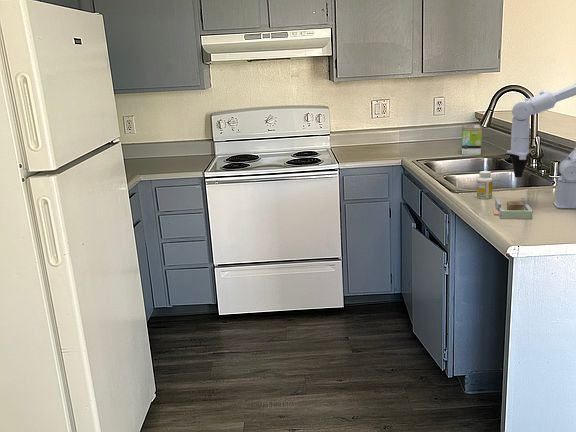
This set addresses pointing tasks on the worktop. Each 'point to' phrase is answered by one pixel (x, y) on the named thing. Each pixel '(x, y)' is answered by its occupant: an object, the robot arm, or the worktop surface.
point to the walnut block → (515, 205)
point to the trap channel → (513, 211)
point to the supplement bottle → (484, 185)
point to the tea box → (471, 139)
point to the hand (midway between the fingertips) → (518, 177)
